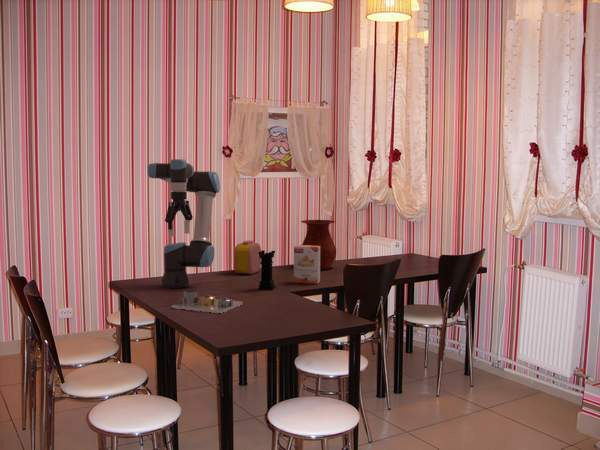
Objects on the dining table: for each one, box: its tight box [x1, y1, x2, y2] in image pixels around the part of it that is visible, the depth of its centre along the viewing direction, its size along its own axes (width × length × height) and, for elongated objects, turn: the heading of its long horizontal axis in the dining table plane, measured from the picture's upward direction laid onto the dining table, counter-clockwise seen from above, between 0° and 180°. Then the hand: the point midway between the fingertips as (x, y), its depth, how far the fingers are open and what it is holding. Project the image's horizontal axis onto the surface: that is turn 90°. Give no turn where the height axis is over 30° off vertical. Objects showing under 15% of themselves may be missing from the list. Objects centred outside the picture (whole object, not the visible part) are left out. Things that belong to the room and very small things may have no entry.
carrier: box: [171, 294, 243, 314], centre depth 304 cm, size 26×20×6 cm
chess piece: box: [257, 249, 277, 291], centre depth 347 cm, size 8×8×20 cm
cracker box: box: [293, 244, 321, 285], centre depth 363 cm, size 14×6×21 cm, turn 77°
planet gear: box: [181, 289, 200, 304], centre depth 308 cm, size 8×8×5 cm
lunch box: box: [233, 240, 262, 275], centre depth 395 cm, size 18×11×19 cm, turn 162°
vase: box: [300, 219, 337, 271], centre depth 413 cm, size 23×24×30 cm
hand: (179, 234), depth 318 cm, fingers open, 13 cm apart
